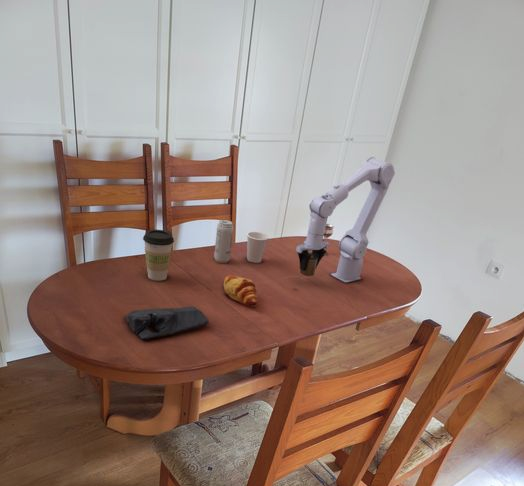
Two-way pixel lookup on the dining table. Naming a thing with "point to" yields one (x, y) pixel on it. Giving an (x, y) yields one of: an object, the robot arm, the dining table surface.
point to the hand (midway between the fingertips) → (308, 268)
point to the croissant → (240, 290)
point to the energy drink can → (223, 241)
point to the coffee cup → (158, 253)
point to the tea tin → (310, 265)
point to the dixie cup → (256, 246)
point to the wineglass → (328, 231)
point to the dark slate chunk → (165, 321)
